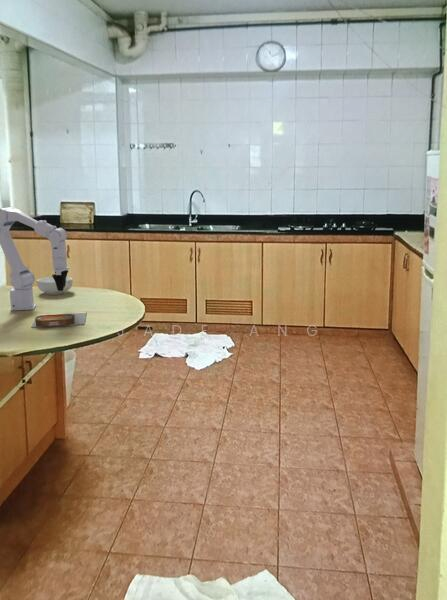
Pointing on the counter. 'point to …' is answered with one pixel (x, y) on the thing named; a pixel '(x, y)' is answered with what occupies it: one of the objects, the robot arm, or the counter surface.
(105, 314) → the counter surface
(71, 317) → the tin
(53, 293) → the cereal bowl
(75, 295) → the counter surface
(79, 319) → the mat
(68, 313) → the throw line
